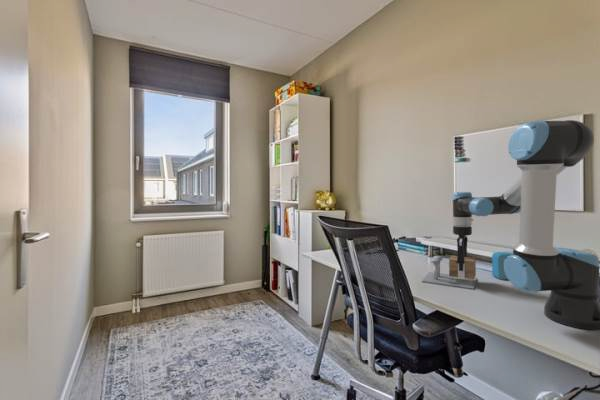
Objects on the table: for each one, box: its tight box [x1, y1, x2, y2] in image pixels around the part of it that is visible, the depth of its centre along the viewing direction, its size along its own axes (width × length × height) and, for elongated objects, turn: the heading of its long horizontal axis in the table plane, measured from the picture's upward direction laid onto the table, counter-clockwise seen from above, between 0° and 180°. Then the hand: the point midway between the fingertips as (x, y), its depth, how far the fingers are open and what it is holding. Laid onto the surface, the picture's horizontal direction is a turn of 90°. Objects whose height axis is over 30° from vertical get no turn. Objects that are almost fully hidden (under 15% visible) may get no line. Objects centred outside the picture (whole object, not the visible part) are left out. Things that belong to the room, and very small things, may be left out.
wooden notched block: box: [448, 255, 477, 279], centre depth 138 cm, size 7×10×8 cm
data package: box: [491, 251, 513, 281], centre depth 142 cm, size 12×4×12 cm, turn 91°
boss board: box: [421, 255, 478, 290], centre depth 141 cm, size 16×21×10 cm
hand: (462, 274), depth 138 cm, fingers closed on wooden notched block, 7 cm apart
